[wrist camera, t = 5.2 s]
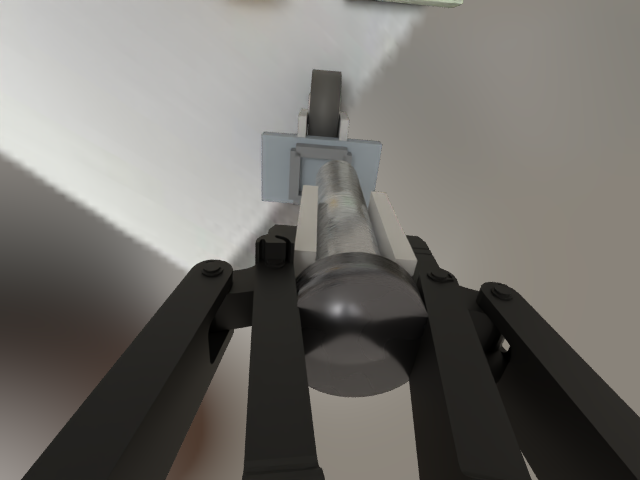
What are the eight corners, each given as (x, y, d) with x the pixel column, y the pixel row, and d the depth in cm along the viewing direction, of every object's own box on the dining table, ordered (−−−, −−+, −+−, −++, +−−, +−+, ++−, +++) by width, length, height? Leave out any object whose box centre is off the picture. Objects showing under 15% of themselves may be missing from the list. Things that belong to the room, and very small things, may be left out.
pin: (306, 144, 21) (283, 276, 9) (375, 151, 22) (453, 291, 9) (301, 208, 24) (277, 392, 11) (364, 214, 24) (414, 401, 11)
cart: (273, 173, 46) (259, 206, 36) (275, 64, 40) (258, 67, 30) (362, 180, 46) (373, 214, 36) (377, 73, 40) (396, 79, 30)
